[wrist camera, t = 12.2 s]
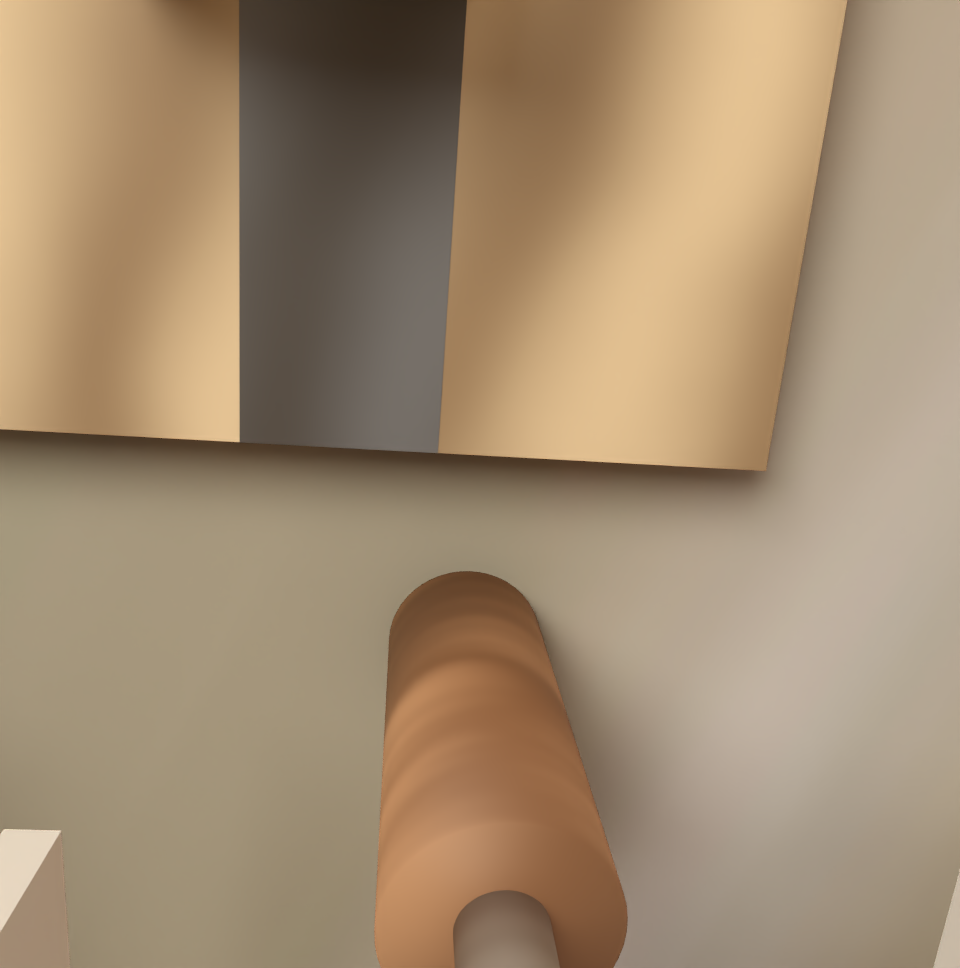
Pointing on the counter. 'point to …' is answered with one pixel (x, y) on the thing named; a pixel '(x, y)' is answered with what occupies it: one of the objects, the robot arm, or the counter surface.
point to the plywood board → (410, 221)
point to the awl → (486, 795)
